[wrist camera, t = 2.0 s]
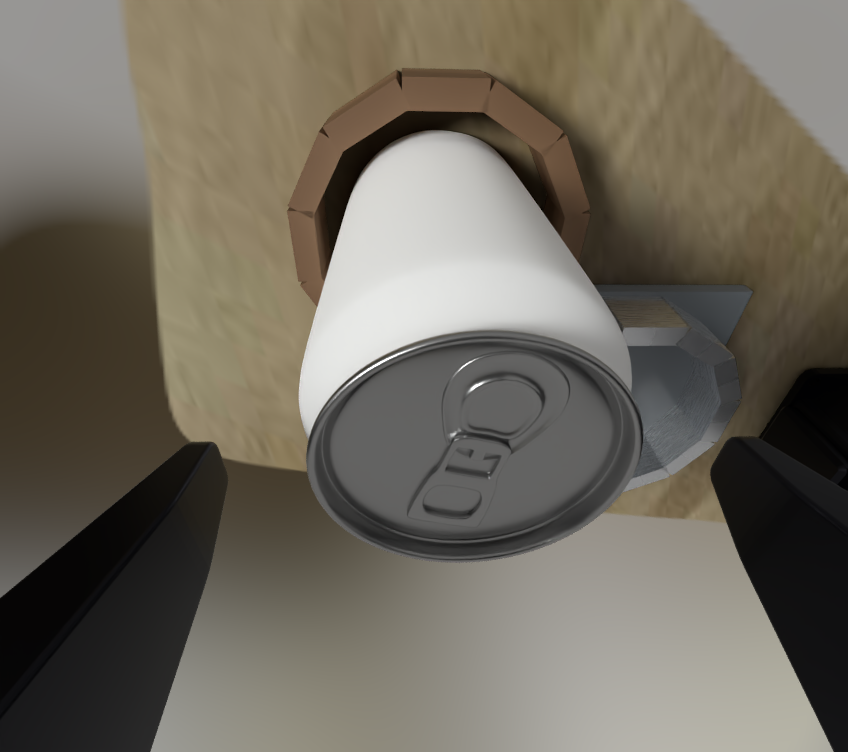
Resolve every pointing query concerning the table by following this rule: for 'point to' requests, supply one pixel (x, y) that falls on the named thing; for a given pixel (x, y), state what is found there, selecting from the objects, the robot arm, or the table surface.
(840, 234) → the table surface
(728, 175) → the table surface
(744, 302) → the dock
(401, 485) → the can
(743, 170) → the table surface
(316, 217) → the brown segmented ring
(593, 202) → the table surface
